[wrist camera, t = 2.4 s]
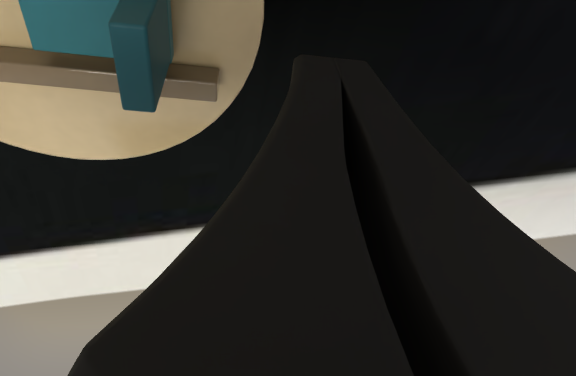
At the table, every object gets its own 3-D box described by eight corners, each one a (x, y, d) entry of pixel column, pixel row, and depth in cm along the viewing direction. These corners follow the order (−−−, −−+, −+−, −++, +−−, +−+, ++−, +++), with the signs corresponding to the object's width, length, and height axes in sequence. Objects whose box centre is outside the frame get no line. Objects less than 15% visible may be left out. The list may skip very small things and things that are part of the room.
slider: (168, -36, 10) (145, 21, 8) (174, 55, 12) (156, 118, 10) (10, -55, 10) (-45, 1, 8) (38, 41, 11) (-3, 103, 10)
